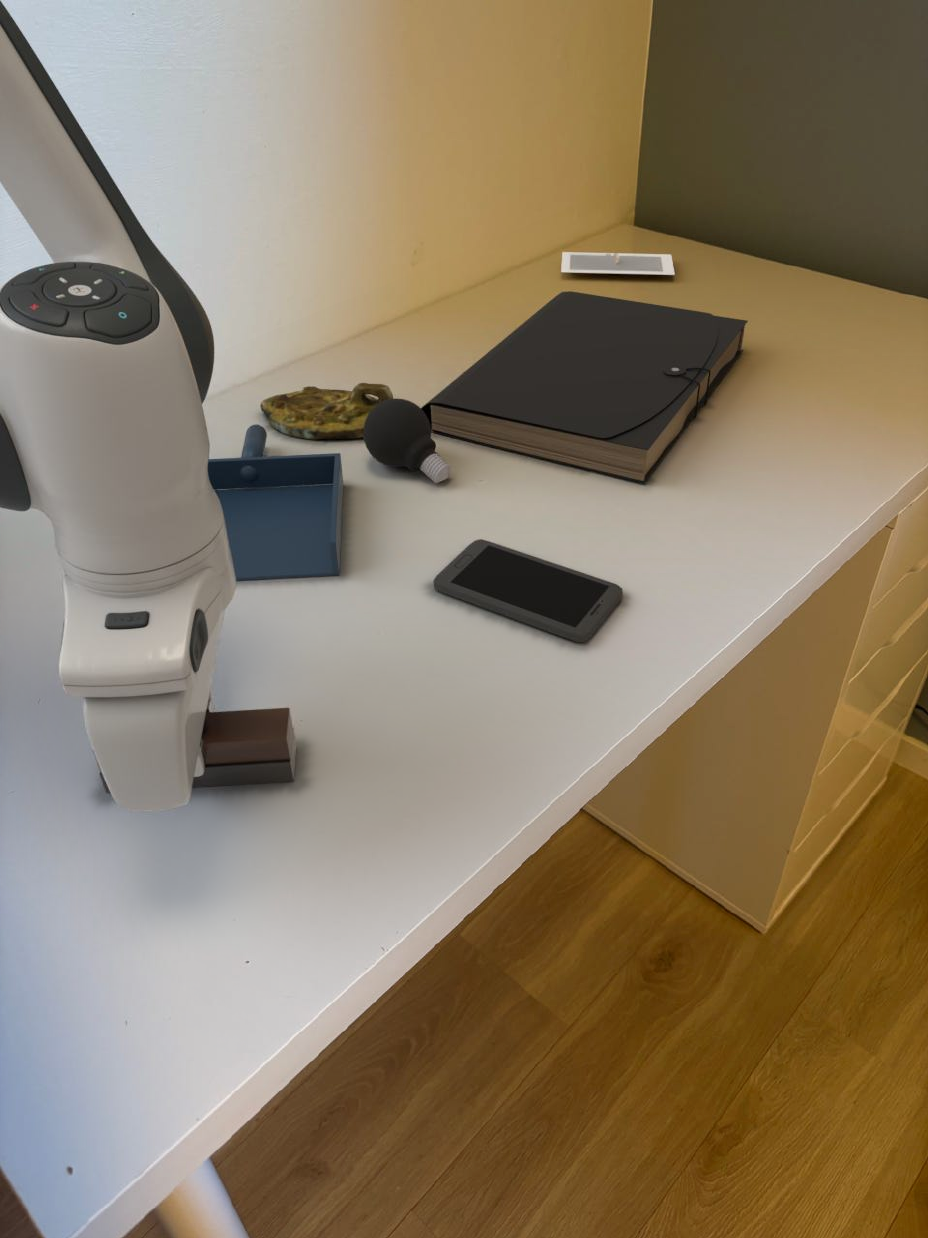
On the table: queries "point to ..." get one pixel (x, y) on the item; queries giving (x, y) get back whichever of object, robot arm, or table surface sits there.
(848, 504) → the table surface
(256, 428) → the dustpan
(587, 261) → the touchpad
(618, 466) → the black leather journal
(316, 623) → the table surface
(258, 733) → the wiper
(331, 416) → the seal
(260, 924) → the table surface
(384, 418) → the light bulb
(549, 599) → the cell phone
